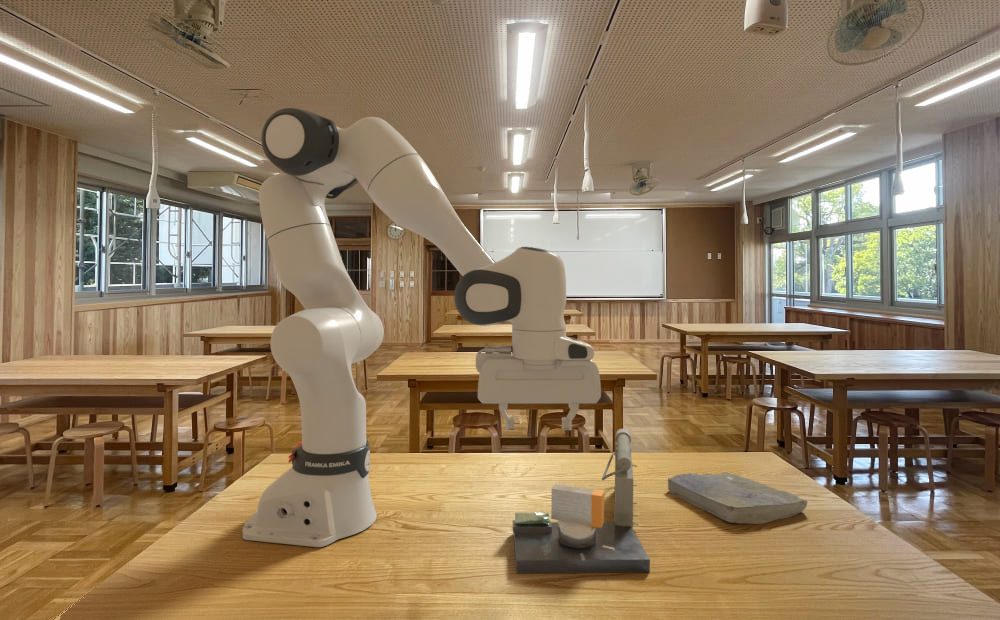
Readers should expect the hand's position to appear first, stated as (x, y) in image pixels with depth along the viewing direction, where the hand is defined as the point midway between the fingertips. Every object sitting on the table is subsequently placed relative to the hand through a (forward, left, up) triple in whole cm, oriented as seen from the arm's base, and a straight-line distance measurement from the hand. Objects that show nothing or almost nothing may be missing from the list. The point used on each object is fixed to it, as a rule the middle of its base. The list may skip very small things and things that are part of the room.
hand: (538, 429), depth 85 cm
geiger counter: (+17, +13, -20) cm, 29 cm away
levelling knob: (+6, -3, -17) cm, 18 cm away
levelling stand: (+6, -3, -19) cm, 20 cm away
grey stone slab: (+40, +16, -20) cm, 47 cm away
